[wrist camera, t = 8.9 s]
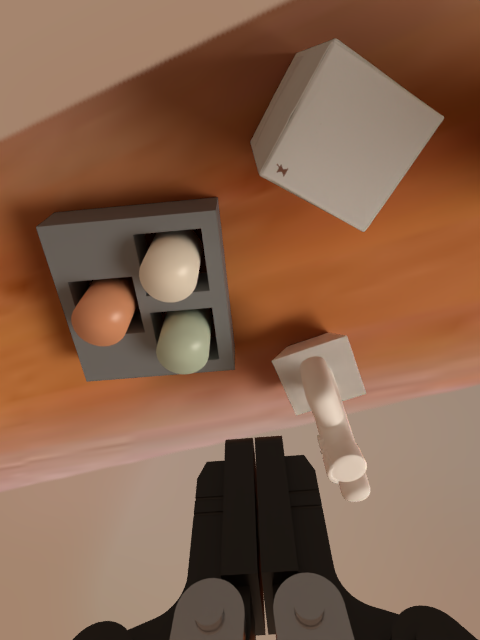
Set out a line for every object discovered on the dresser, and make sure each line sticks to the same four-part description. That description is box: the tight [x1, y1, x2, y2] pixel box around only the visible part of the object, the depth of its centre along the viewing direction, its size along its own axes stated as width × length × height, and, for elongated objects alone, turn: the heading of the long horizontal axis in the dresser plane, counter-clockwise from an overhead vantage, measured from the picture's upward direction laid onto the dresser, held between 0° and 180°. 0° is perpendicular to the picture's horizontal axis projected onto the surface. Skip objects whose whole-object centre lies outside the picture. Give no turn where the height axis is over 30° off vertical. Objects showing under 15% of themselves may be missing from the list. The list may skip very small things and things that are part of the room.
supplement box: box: [250, 38, 444, 232], centre depth 29 cm, size 7×7×13 cm
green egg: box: [156, 308, 212, 374], centre depth 39 cm, size 4×4×6 cm
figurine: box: [272, 333, 370, 502], centre depth 38 cm, size 7×9×15 cm
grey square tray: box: [36, 197, 235, 381], centre depth 39 cm, size 14×15×4 cm
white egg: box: [139, 229, 202, 302], centre depth 36 cm, size 4×4×6 cm
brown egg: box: [71, 277, 138, 346], centre depth 38 cm, size 4×4×6 cm
